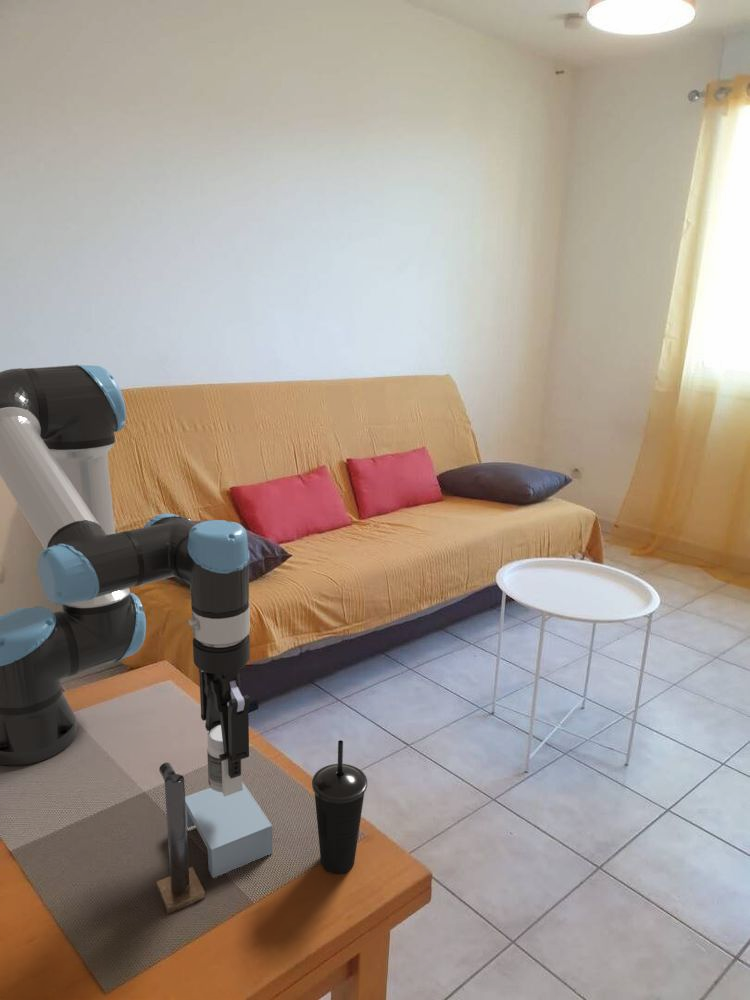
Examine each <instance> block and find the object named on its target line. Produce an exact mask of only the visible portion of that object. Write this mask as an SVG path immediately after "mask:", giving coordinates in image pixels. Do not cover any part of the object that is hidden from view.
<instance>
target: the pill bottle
mask: <svg viewBox="0 0 750 1000" xmlns="http://www.w3.org/2000/svg"><path fill="white" fill-rule="evenodd" d="M208 733H209V732H208ZM209 742H210V743H209V744H208V743H207V748H206V749H207V751H206V752H207V754H206V755H207V780H208V783H207V784H208V786H209V788H211V789H213V790H215V791H217V792H222V762H221V760H220V758H219V755H221V754H223V753H224V748H223V739H222V731H221V725H218V726H216V727H214V728H213V729H212V730H211V731H210V733H209Z"/></svg>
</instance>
